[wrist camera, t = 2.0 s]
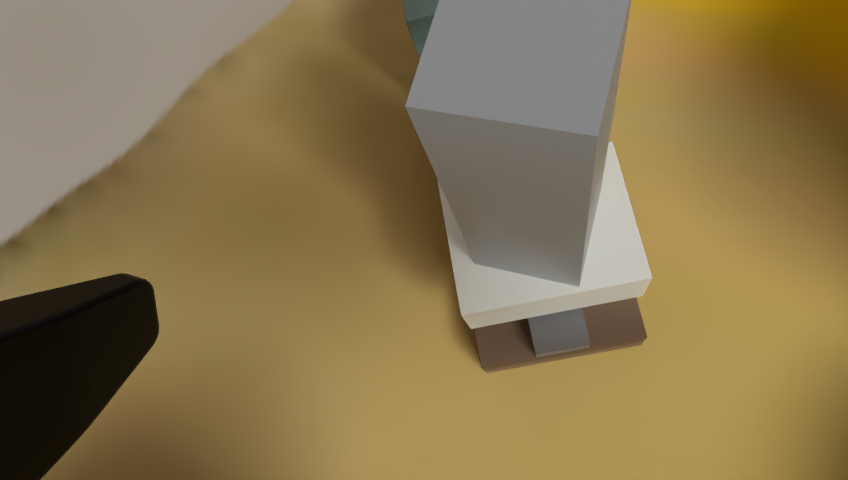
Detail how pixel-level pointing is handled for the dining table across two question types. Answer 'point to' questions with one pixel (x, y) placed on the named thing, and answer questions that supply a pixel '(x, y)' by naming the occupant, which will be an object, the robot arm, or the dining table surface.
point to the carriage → (529, 154)
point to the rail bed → (552, 331)
